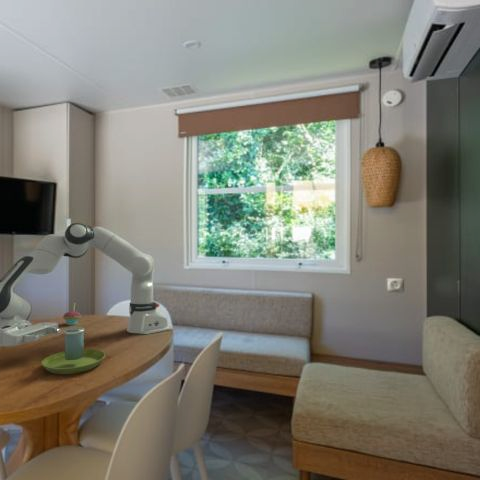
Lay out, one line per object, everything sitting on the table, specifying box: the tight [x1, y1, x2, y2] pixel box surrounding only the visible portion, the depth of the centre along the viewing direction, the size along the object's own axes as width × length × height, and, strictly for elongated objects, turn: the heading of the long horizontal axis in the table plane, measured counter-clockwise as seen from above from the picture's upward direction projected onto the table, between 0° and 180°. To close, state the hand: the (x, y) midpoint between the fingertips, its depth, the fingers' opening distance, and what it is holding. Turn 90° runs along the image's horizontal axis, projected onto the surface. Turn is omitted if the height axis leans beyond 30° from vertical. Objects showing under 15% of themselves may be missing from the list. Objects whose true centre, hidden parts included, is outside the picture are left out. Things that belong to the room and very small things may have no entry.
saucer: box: [41, 348, 106, 375], centre depth 118 cm, size 21×21×3 cm
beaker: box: [64, 327, 85, 360], centre depth 119 cm, size 6×6×10 cm
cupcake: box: [62, 302, 82, 326], centre depth 176 cm, size 9×8×12 cm
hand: (49, 334), depth 121 cm, fingers open, 8 cm apart
